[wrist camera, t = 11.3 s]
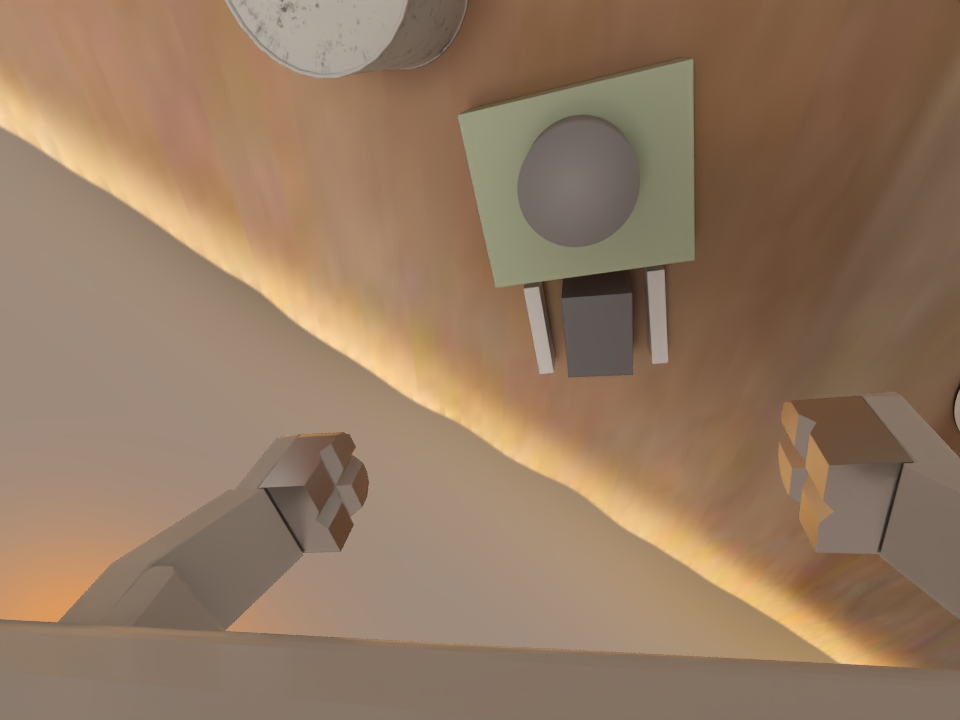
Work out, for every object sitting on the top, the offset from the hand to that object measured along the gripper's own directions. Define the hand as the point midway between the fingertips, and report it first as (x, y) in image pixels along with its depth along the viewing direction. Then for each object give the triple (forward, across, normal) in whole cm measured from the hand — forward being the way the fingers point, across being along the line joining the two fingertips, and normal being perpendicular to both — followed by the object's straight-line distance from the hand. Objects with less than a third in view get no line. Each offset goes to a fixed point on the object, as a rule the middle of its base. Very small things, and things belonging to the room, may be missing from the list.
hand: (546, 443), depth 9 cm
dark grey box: (+31, 0, -13) cm, 34 cm away
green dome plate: (+31, 0, -6) cm, 31 cm away
